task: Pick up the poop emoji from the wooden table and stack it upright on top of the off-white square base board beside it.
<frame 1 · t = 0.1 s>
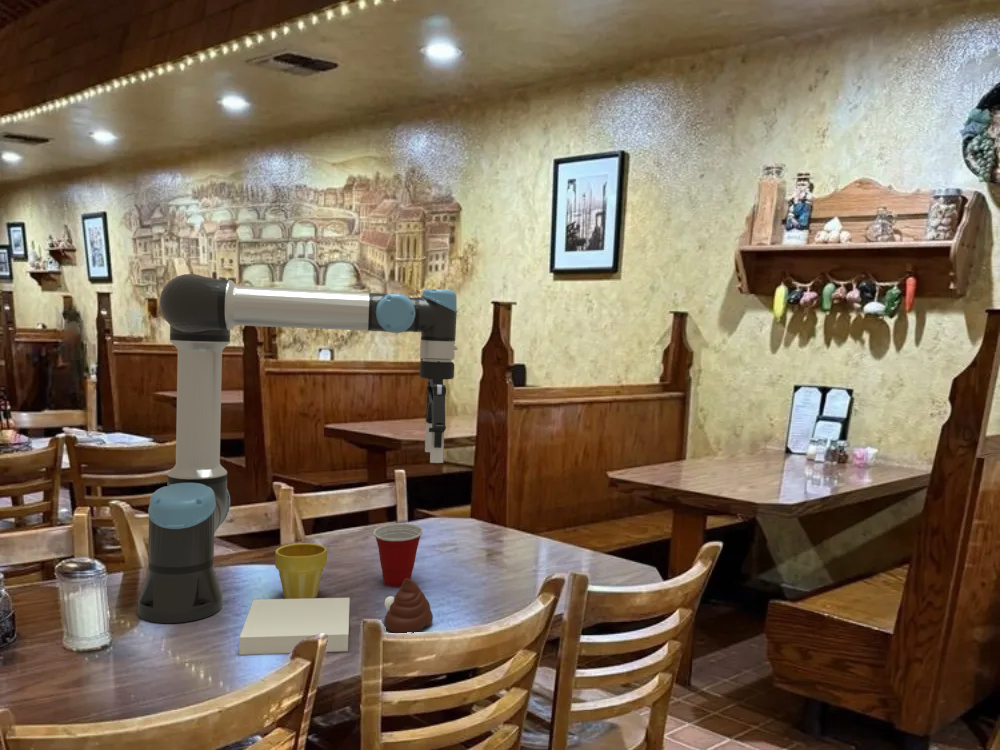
hand: (433, 457, 169), 28 cm above the table, tool pointing down, fingers open, 13 cm apart
plant pot: (300, 597, 159), on the table
poop emoji: (407, 626, 146), on the table
plastic cup: (396, 583, 169), on the table
base board: (298, 632, 140), on the table
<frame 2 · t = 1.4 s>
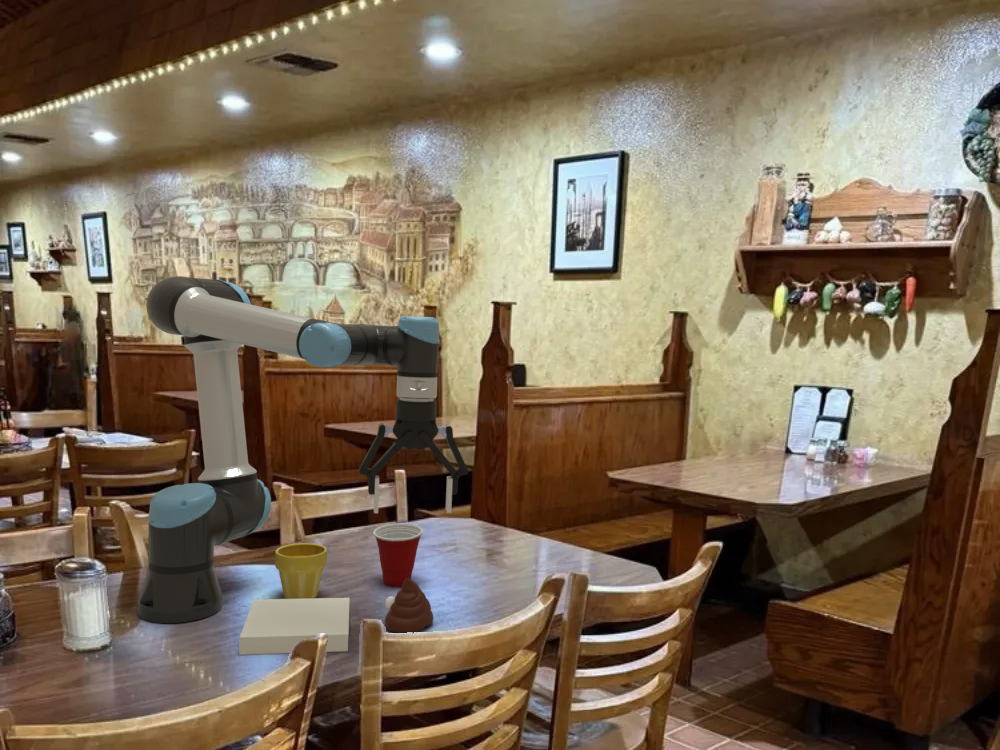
hand: (412, 511, 145), 22 cm above the table, tool pointing down, fingers open, 13 cm apart
nothing on the table moved.
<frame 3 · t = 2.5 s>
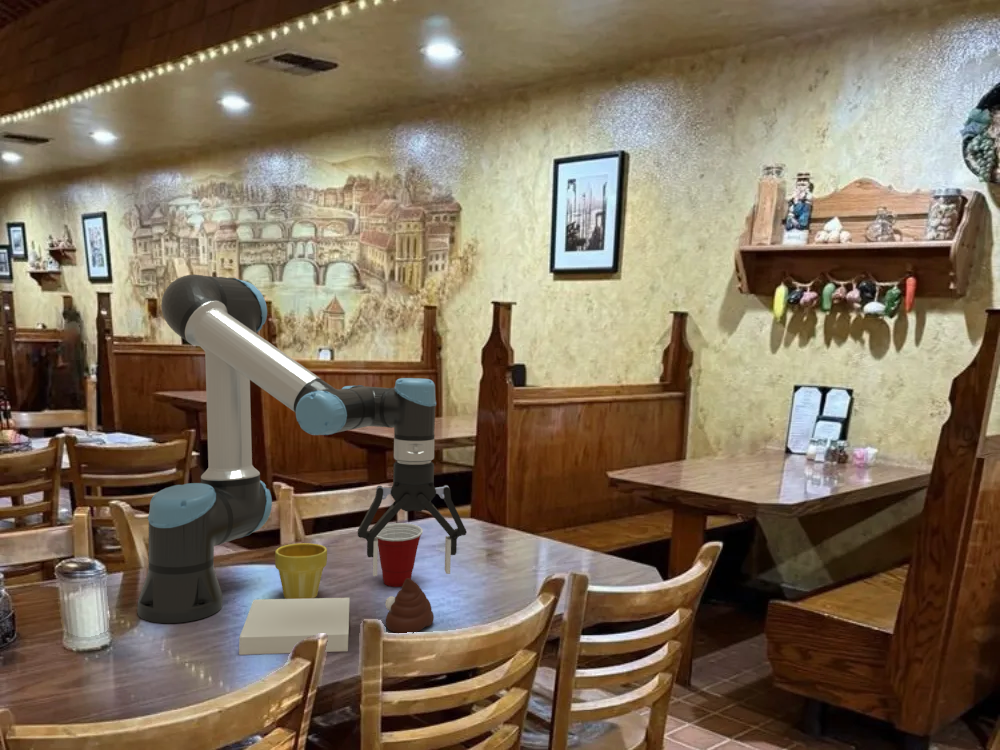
hand: (411, 573, 145), 10 cm above the table, tool pointing down, fingers open, 13 cm apart
nothing on the table moved.
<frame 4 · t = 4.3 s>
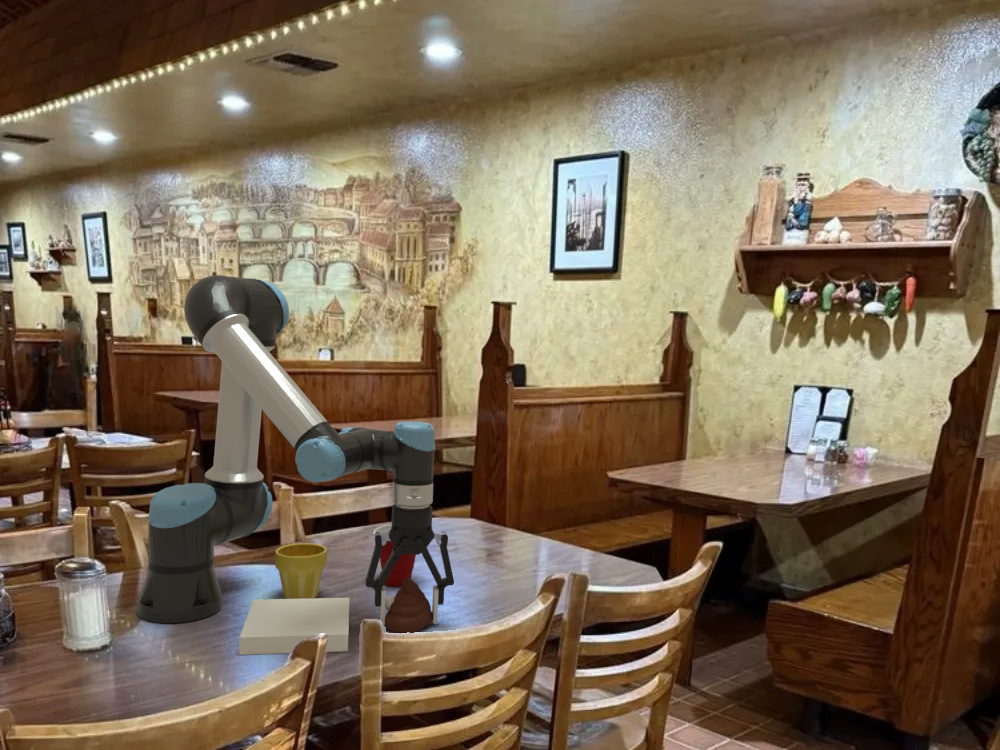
hand: (408, 621, 146), 1 cm above the table, tool pointing down, fingers closed on poop emoji, 9 cm apart
poop emoji: (408, 626, 146), on the table, touching gripper
everything else where it was.
when the fingers open (5 cm above the table, at t = 12.2 s): poop emoji drops 1 cm, resting on base board.
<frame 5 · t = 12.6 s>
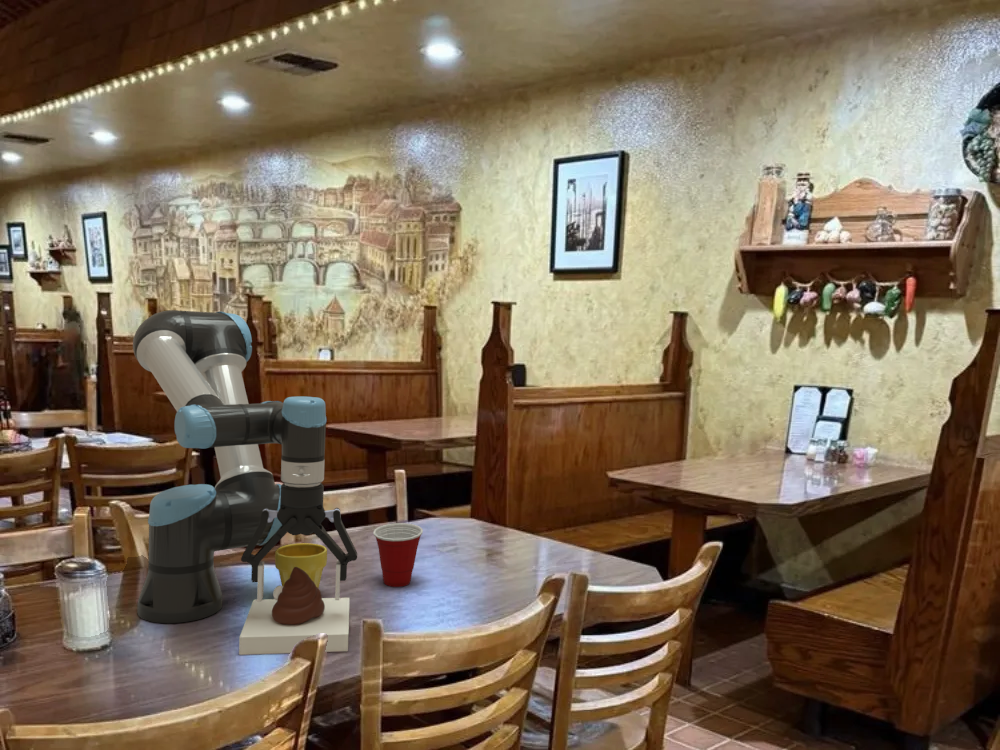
hand: (299, 598, 140), 6 cm above the table, tool pointing down, fingers open, 13 cm apart
poop emoji: (297, 617, 140), point 3 cm above the table, touching base board
everything else where it was.
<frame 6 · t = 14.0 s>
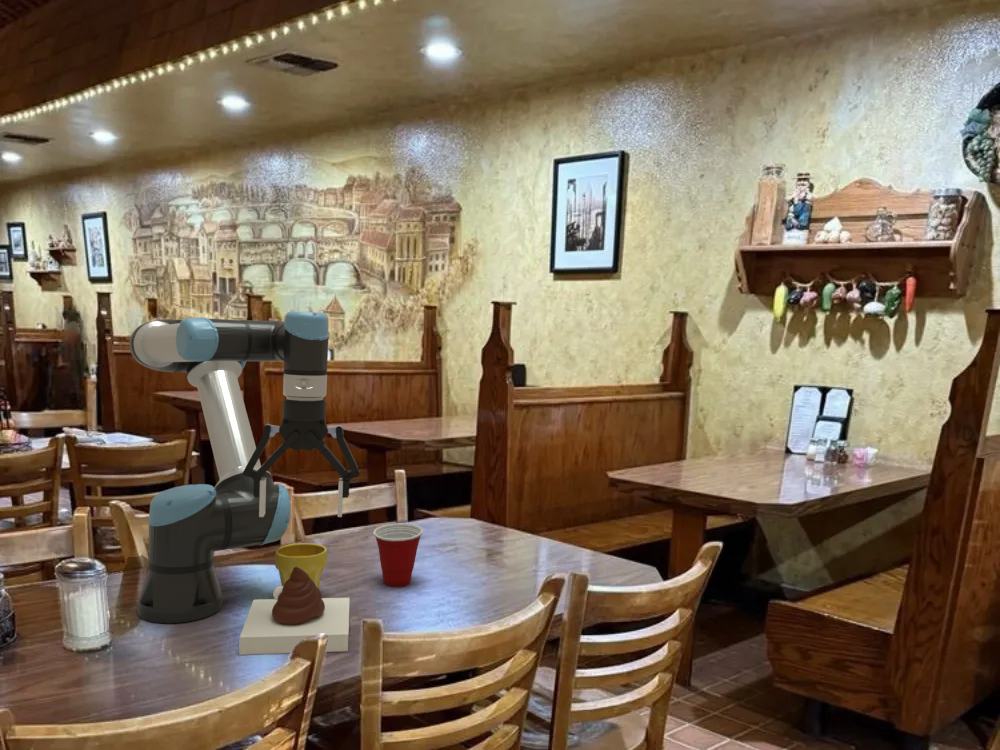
hand: (301, 515, 139), 22 cm above the table, tool pointing down, fingers open, 13 cm apart
nothing on the table moved.
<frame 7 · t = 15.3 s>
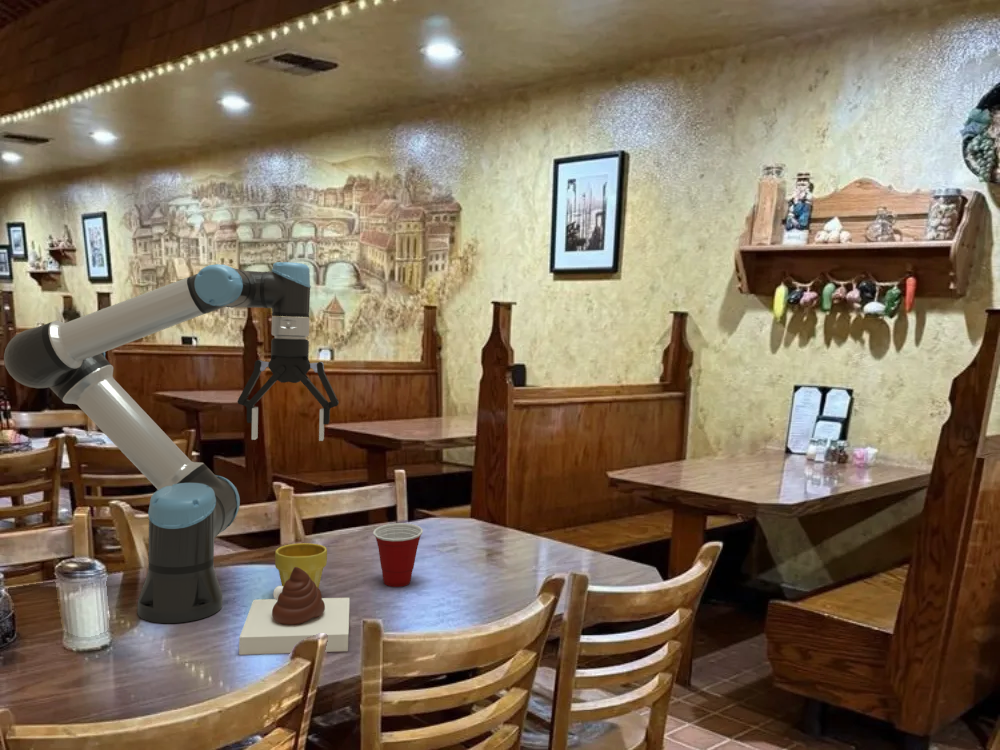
hand: (288, 439, 161), 32 cm above the table, tool pointing down, fingers open, 13 cm apart
nothing on the table moved.
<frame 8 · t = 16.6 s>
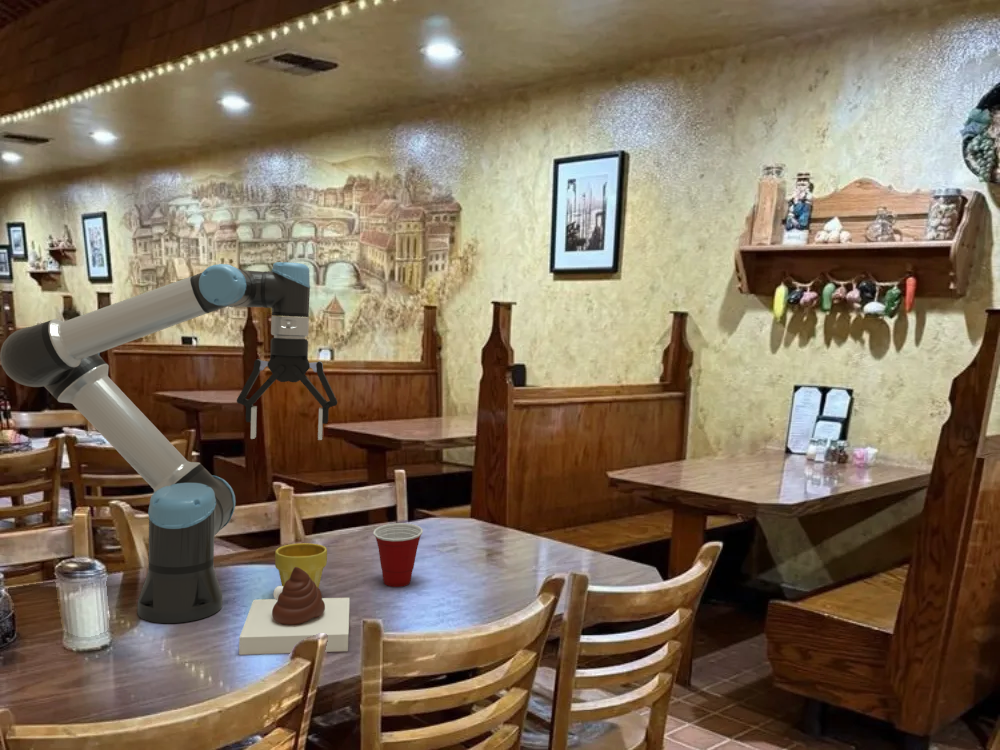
hand: (286, 438, 162), 32 cm above the table, tool pointing down, fingers open, 13 cm apart
nothing on the table moved.
at the end: poop emoji inside the target area on the base board (0.2 cm from its centre), point 2.8 cm above the base board's base; poop emoji tilted 0°; the gripper is holding nothing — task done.
